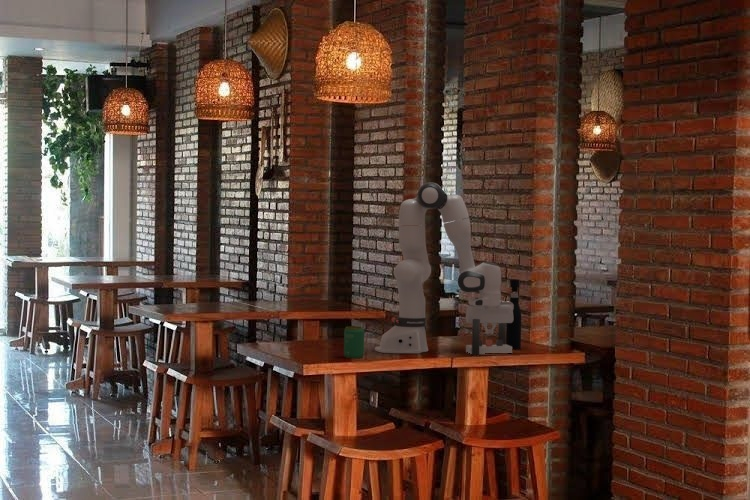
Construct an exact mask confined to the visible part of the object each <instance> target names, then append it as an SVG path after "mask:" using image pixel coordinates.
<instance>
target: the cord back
mask: <svg viewBox="0 0 750 500" xmlns="http://www.w3.org/2000/svg"><path fill="white" fill-rule="evenodd" d="M497 340H503V345H506V323H498V339H497Z"/></svg>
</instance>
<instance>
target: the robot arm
mask: <svg viewBox="0 0 750 500" xmlns="http://www.w3.org/2000/svg"><path fill="white" fill-rule="evenodd" d="M429 210H438V211H439V213H440V215H441V219H442V222H443V227H444V230H445V233H446V235H447V238H448V240H449V241H450V242H451V244H452V245H453V246H454V248H455V251H456V254H457V258H458V263H459V267H460V268H459V269H460V272H459V275H458V277H457V285H458V287H459V289H460V290H461V291H462V292H464V293H470V294H472V293H474V292H479V296H475V297H473V298H470V299H468V301H467V303H468V304H469V305H468V306H467V308H466V311H465V322H466V323H468V324H473V319H480V324H482V326H483V328H484V331H485V335H493V334H494V330H495V329H496V327H497V324H499V323H512V322H513V320H514V318H513V309H514V305H513V303H512V302H510V300H507V301H506V300H502V298H501V297H502V291H501V286H502V271H501V268H500V267H501V266H499V265H498V264H497V263H494V262H488V261H484V262H482V263H480V264H478V265H477V266H476V264H475V263H476V262H475V261H474V260H475V259H474V256H473V251H472V247H471V246H472V245H471V240H472V239H471V238H472V237H471V235H472V231H471V230H472V229H471V228H472V227H471V220H470V217H469V213H468V209H467V205H466V203H465V201H464V199H463V197H462V196H461V195H460V194H456V193H455V194H453V193H452V194H447V193H446V192H445V191H444V190H443V188H442V186H440V185H439V184H438V183H436V182H426V183H423V184H422V185H421V186H420V187H419V189H418V190H417V194H416V196H415V198H409V199H406V200H404V201H402V202H401V203H400V207H399V213H398V244H399V247H400V250H401V253H402V258H403V259H402V260H401V261H400V262H399V263H397V264H396V265H395V267H394V271H393V275H394V278H395V280H396V285H397V290H398V298H399V299H398V301H399V303H398V305H399V307H398V308H399V310H398V316H397V317H395V316H394V317H392V318H391V322H392V323H394V324H393V325H394V326H392V327H391V328H390V329H389V330H387V331H386V332H385V333H383V334H382V335H381V339H380V343H379V346H375V348H374V350H375V351H376V352H379V353H383V354H421V353H426V352H428V351H429V348H428V343H427V334H426V332H427V331H426V330H427V317H426V302H427V301H426V296H425V294H424V288H423V283H425V282H426V281H427V280H428V279H429V277H430V276H431V275H432V266H431V264H430V260H429V256H428V250H427V245H426V244H427V243H426V223H425V222H426V220H425V217H426V212H427V211H429ZM510 303H512V304H510ZM489 324H491V328H490V329H488V327H487V326H488V325H489Z"/></svg>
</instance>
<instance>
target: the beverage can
mask: <svg viewBox="0 0 750 500" xmlns="http://www.w3.org/2000/svg"><path fill="white" fill-rule="evenodd" d="M343 336H344V337H343V356H344V358H347V359H362V358H364V357H363V356H364V355H365V354H364V353H365V330H364V328H363V327H362V326H355V325H354V326H345V328H344V332H343Z"/></svg>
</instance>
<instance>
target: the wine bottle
mask: <svg viewBox="0 0 750 500" xmlns="http://www.w3.org/2000/svg"><path fill="white" fill-rule="evenodd" d="M509 282H510V283H509V287H510V288H511V293H510V297H509V301H510V302H512V303H513V305H514V309H513V318H514V320H513V322H512V323H506V336H505V345H509V346H512V349H519V350H521V347H522V341H521V339H522V310H521V308H520V304H519V302H520V301H519V300H520V299H519V293H518V291H519V290H518V288H520V279H512V278H511V279H510V281H509ZM512 303H510V304H512Z"/></svg>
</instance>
